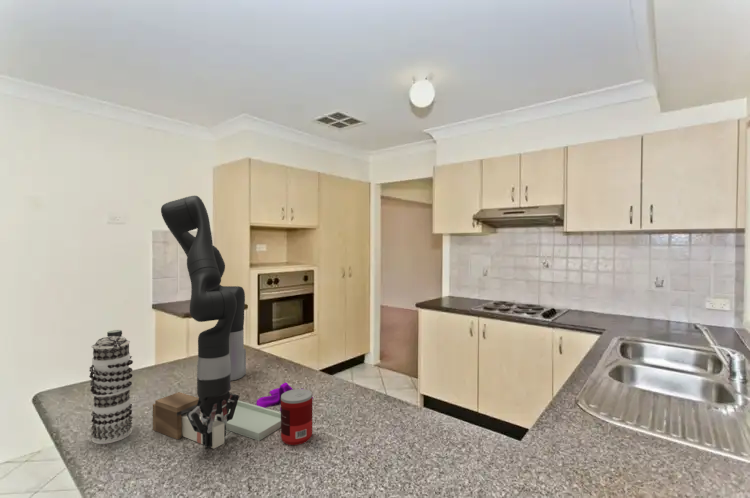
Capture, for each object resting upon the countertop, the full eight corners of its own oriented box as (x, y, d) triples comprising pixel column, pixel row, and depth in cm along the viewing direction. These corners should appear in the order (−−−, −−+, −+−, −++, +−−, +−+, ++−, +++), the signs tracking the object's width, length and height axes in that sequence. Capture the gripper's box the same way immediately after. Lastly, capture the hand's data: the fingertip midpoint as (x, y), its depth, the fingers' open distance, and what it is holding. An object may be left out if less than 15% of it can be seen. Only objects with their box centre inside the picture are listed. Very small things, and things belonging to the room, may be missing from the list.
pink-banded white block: (188, 429, 101) (188, 410, 101) (224, 442, 94) (224, 422, 94) (177, 434, 98) (177, 414, 98) (213, 448, 91) (213, 427, 91)
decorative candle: (138, 424, 103) (137, 332, 103) (126, 441, 94) (125, 341, 94) (99, 428, 101) (98, 334, 100) (83, 447, 92) (81, 344, 91)
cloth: (301, 420, 107) (301, 398, 107) (242, 413, 112) (242, 392, 111) (329, 390, 129) (328, 372, 129) (278, 385, 133) (278, 368, 133)
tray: (235, 405, 116) (235, 399, 116) (290, 421, 105) (290, 415, 105) (201, 421, 105) (201, 414, 105) (258, 440, 95) (258, 433, 95)
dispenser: (176, 419, 106) (176, 391, 106) (200, 428, 101) (200, 398, 101) (152, 429, 100) (152, 399, 100) (177, 439, 95) (176, 407, 95)
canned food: (317, 432, 99) (317, 390, 99) (302, 448, 92) (302, 402, 91) (291, 428, 102) (291, 386, 101) (274, 442, 94) (274, 398, 94)
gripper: (227, 362, 101) (227, 427, 101) (177, 379, 89) (177, 453, 89) (247, 367, 97) (247, 434, 98) (198, 385, 85) (198, 462, 85)
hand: (214, 442), depth 93 cm, fingers closed on pink-banded white block, 3 cm apart
